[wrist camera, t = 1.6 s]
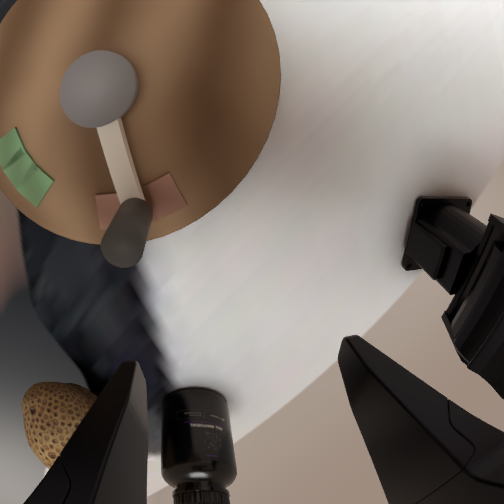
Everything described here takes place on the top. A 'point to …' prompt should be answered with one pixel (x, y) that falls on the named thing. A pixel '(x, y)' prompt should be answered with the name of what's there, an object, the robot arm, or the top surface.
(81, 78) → the multicoloured piece
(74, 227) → the round wooden board
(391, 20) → the top surface
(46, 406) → the natural sponge
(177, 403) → the supplement bottle
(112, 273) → the top surface
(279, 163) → the top surface
